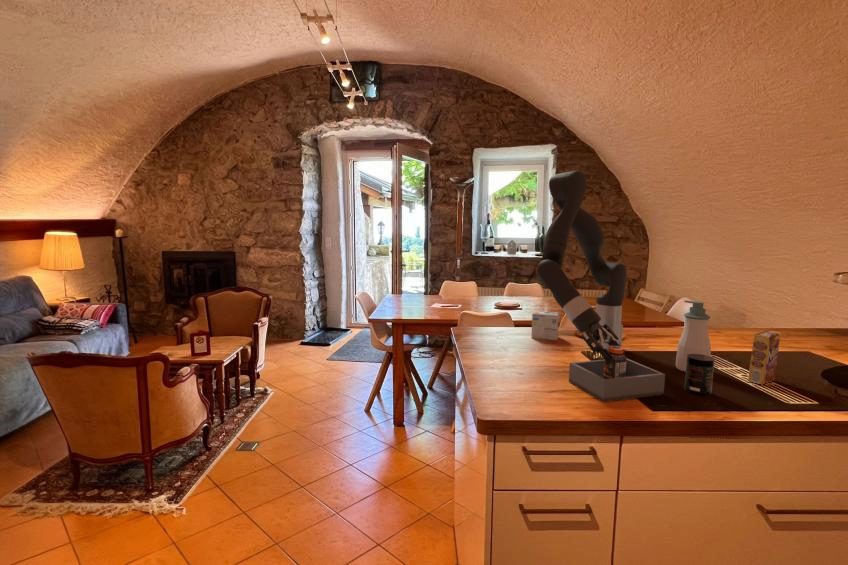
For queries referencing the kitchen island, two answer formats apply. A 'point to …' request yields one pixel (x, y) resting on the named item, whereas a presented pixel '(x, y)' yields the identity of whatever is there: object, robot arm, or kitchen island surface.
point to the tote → (616, 381)
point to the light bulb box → (545, 325)
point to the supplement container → (699, 374)
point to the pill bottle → (615, 363)
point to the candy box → (764, 357)
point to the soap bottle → (693, 335)
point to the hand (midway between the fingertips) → (617, 358)
